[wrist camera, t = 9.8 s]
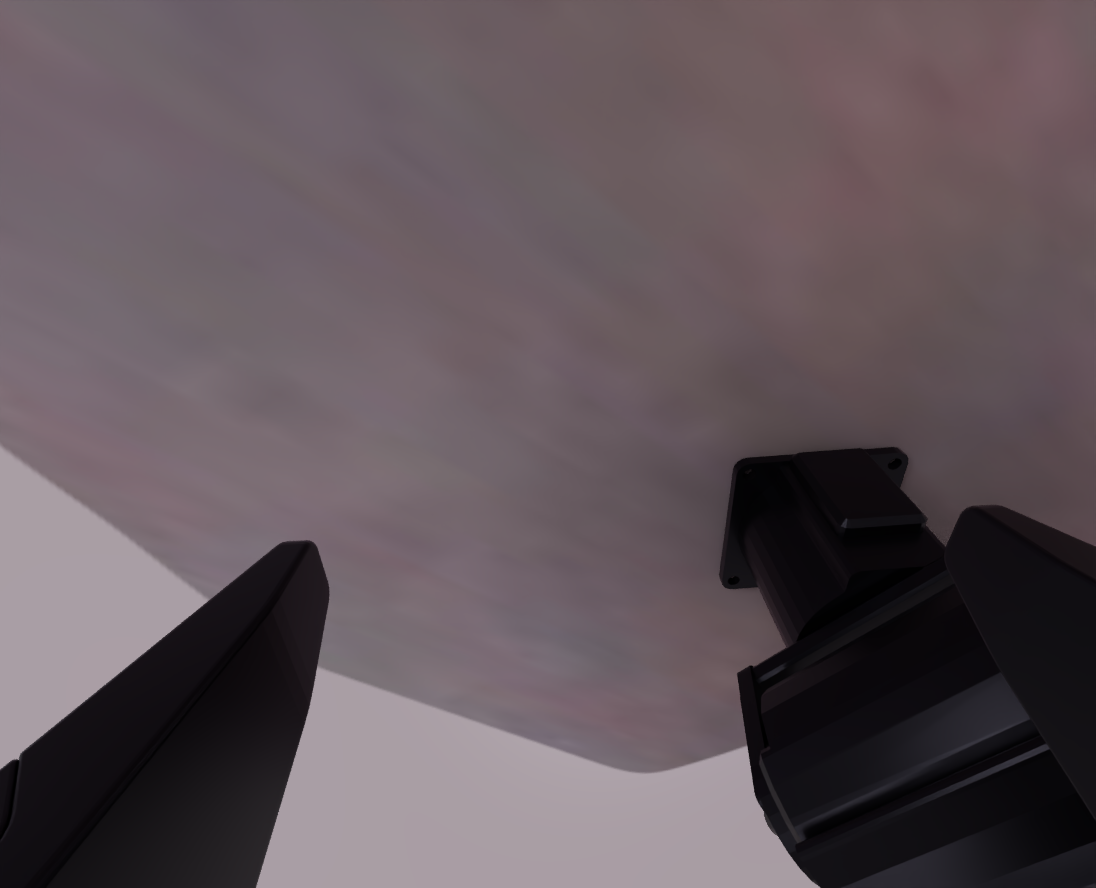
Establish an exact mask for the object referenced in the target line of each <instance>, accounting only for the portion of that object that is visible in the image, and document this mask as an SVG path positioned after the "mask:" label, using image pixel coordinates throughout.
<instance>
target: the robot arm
mask: <svg viewBox="0 0 1096 888" xmlns="http://www.w3.org/2000/svg"><path fill="white" fill-rule="evenodd" d="M893 459H895V460H894V461H893V462H892V463H889V462H890V461H891V460H893ZM907 465H908V457H907V455H906V454H905V453H904V452H902V451H901V450H900V449H899V448H895V447H889V448H875V449H861V448H858V449H844V450H831V451H817V452H803V453H797V454H793V455H779V456H766V457H752V458H745V459H742V460H740V461H738V462H737V463H736V464H735V466H734V469H733V474H732V482H731V489H730V497H729V505H728V512H727V520H726V527H725V535H724V543H723V550H722V558H721V565H720V573H719V576H720V580H721V582H722V585H723V586H724V587H725V588H728V589H739V588H752V587H758V588H759V590H760V592H761V594H762V596H763V599H764V601H765V603H766V605H767V607H768V609H769V611H770V613H771V616H772V618H773V620H774V622H775V624H776V626H777V628H778V630H779V632H780V635H781V637H782V639H783V641H784V643H785V645H786V647H787V648H785V649H783V650H782V651H780V652H778V653H777V654H775V655H773V656H771V657H770V658H768V659H766V660H765V661H763V662H761V663H759V664H758V665H756V666H754V667H753V666H751V665H750V666H749V667H747V668H745V669H743V670H742V671H740V672H738V673H737V676H738V683H739V690H740V700H741V707H742V713H743V720H744V726H745V733H746V739H747V746H748V753H749V759H750V766H751V772H752V779H753V785H754V792H755V796H756V798H757V801H758V803H759V804H760V806H761V808H762V809H763V811H764V817H765V820H766V822H767V825H768V826H769V828H770V829H771V831H772V832H773V833H774V834H775V835H777V836H778V837H779V839H780V840H781V842H782V843H783V845H784V847H785V848H786V850H787V851H788V853H789V854H790V856H791V857H792V858H793V860H794V861H795V862H796V864H797V865H798V866H799V868H800V869H801V870H802V871H803V872H804V873H805V874H806V875H807V876H808V878H809V879H810V880H811V881H813V882H814V883H815V884H817V885H818V886H820V887H821V888H1096V547H1095V546H1093V545H1091V544H1088V543H1086V542H1084V541H1082V540H1079V539H1077V538H1075V537H1072V536H1070V535H1068V534H1065V533H1063V532H1061V531H1059V530H1056V529H1054V528H1052V527H1049V526H1047V525H1045V524H1042V523H1040V522H1038V521H1036V520H1033V519H1031V518H1029V517H1026V516H1024V515H1022V514H1019V513H1017V512H1015V511H1013V510H1010V509H1008V508H1006V507H1003V506H999V505H982V506H971V507H968V508H966V509H965V510H964V511H963V512H962V513H961V514H960V516H959V519H958V521H957V523H956V525H955V528H954V530H953V532H952V534H951V536H950V539H949V541H948V543H947V545H946V547H945V546H944V545H943V544H942V543H941V542H940V541H939V539H938V538H937V537H936V536H935V535H934V534H933V533H932V532H931V531H930V530H929V528H928V527H927V526H926V522H927V517H926V516H925V515H924V514H923V513H922V512H921V510H920V509H919V508H918V507H917V506H916V505H915V504H914V503H913V502H912V501H911V500H910V499H909V498H908V496H907V495H906V494H905V493H904V492H903V491H902V490H901V489H900V487H901V483H902V480H903V477H904V474H905V471H906V468H907ZM749 469H752V471H751V472H750V473H748V474H744V472H745V471H746V470H749ZM733 576H735V577H733ZM730 577H733V578H730ZM328 603H329V584H328V580H327V577H326V574H325V571H324V568H323V564H322V561H321V558H320V555H319V551H318V548H317V546H316V545H315V543H314V542H312V541H309V540H305V541H287V542H282V543H280V544H279V545H277V546H276V547H275V548H273V549H272V550H271V551H270V552H268V553H267V554H266V555H265V556H263V557H262V558H261V559H260V560H259V561H257V562H256V563H255V564H254V565H252V566H251V567H250V568H249V569H247V570H246V571H245V572H244V573H242V574H241V575H240V576H239V577H238V578H236V579H235V580H234V581H233V582H231V583H230V584H229V585H228V586H226V587H225V588H224V589H223V590H221V591H220V592H219V593H218V594H217V595H215V596H214V597H213V598H212V599H210V600H209V601H208V602H207V603H205V604H204V605H203V606H202V607H201V608H199V609H198V610H197V611H196V612H194V613H193V614H192V615H191V616H189V617H188V618H187V619H186V620H184V621H183V622H182V623H181V624H180V625H178V626H177V627H176V628H175V629H173V630H172V631H171V632H170V633H168V634H167V635H166V636H165V637H163V638H162V639H161V640H160V641H159V642H157V643H156V644H155V645H154V646H153V647H151V648H150V649H149V650H147V651H146V652H145V653H144V654H143V655H141V656H140V657H139V658H138V659H136V660H135V661H134V662H133V663H132V664H130V665H129V666H128V667H126V668H125V669H124V670H123V671H122V672H120V673H119V674H118V675H117V676H116V677H114V678H113V679H112V680H111V681H109V682H108V683H107V684H106V685H104V686H103V687H102V688H101V689H99V690H98V691H97V692H96V693H94V694H93V695H92V696H91V697H89V698H88V699H87V700H86V701H85V702H83V703H82V704H81V705H80V706H78V707H77V708H76V709H75V710H73V711H72V712H71V713H70V714H68V716H66V717H65V718H64V719H62V720H61V721H60V722H59V723H57V724H56V725H55V726H54V727H53V728H51V729H50V730H49V731H48V732H46V733H45V734H44V735H43V736H41V737H40V738H39V739H38V740H36V741H35V742H34V743H33V744H31V745H30V746H29V747H28V748H26V750H24V751H23V752H22V753H21V754H20V757H19V760H17V759H16V760H12V761H10V762H9V763H8V764H7V765H6V766H4V767H3V768H1V769H0V888H256V885H257V882H258V879H259V875H260V872H261V869H262V865H263V862H264V858H265V855H266V852H267V849H268V845H269V842H270V839H271V835H272V832H273V829H274V825H275V822H276V819H277V815H278V812H279V808H280V805H281V802H282V798H283V795H284V792H285V788H286V785H287V782H288V778H289V775H290V772H291V768H292V765H293V762H294V758H295V755H296V751H297V748H298V745H299V742H300V738H301V735H302V731H303V728H304V725H305V721H306V717H307V714H308V710H309V706H310V701H311V697H312V691H313V687H314V681H315V676H316V670H317V664H318V659H319V653H320V648H321V642H322V637H323V631H324V625H325V620H326V614H327V609H328Z"/></svg>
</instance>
